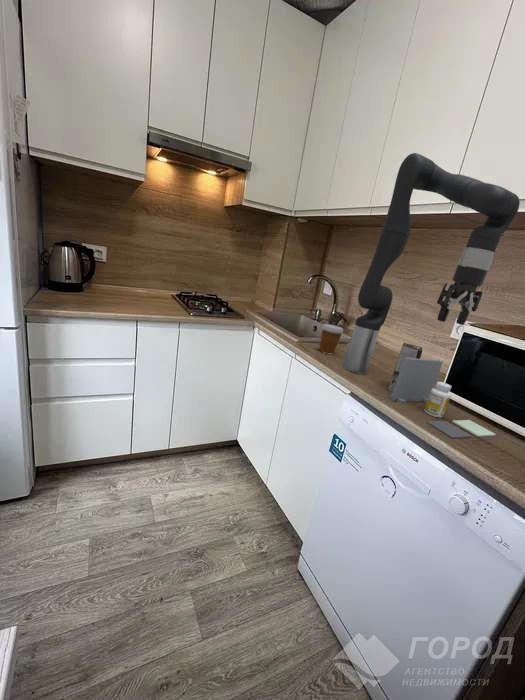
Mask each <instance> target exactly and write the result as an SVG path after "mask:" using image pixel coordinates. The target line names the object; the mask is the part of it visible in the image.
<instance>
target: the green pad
mask: <svg viewBox="0 0 525 700" xmlns="http://www.w3.org/2000/svg"><path fill="white" fill-rule="evenodd" d="M451 422H452V423H453V424H455V425H457V426H459V427H461V429H464V430H465V431H467V432H469V433H471V434H473V435H474V436H476V437H492V436H493V437H494V436H497V435H496V433H494V432H492V431H491V430H489V429H487V428H486V427H483V426H482V425H479V424H478V423H476V422H474V421H472V420H470V419H462V420H452V421H451Z"/></svg>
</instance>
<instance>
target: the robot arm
mask: <svg viewBox="0 0 525 700" xmlns="http://www.w3.org/2000/svg"><path fill="white" fill-rule="evenodd" d="M394 183H395V184H394V188H393V192H392V196H391V199H390V200H391V201H390V204H389V208H388V211H387V214H386V217H385V219H384V224H383V225H382V229H381V232H380V235H379V238H378V241H377V245H376V248H375V252H374V254H373V256H372V257H373V258H372V260H371V263H370V265H369V268H368V270H367V271H366V272H367V273H366V274H365V277H364V279H363V282H362V285H361V286H360V289H359V291H358V296H357V302H358V305H359V306H360V307H361V308H362V309H367V312H366V313H365V314H363V315H360V316H358V317H357V318H356V319H355V323H354V328H353V329H352V333H351V338H350V341H348V342H347V345H346V349H345V352H344V356H343V359H342V362H341V366H343V369H345V368H346V369H345V370H347V371H349V372H351V371H352V372H351V373H354V372H355V374H359V373H360V375H361V374H362V375H366V374H367V372H368V369H369V366H370V363H371V360H372V356H373V353H374V350H375V347H376V343H377V340H378V336H379V334H380V330H381V327H382V326H383V325H384V323H385V321H386V319H387V317H388V313H389V311H390V308H391V305H392V301H393V292H392V290H391V288H390V287H388V286H387V285H386V286H385V285H381V284H382V281H383V280H384V279H383V278H384V277H385V275H386V272H387V271H388V269H389V268H390V267H391V266H392V265H393V264H394V263H395V261H397V260H398V258H400V256H401V255H402V254H403V252H404V250H405V248H406V245H407V243H408V240H409V238H410V235H411V229H412V227H411V225H412V224H411V223H412V221H411V220H412V219H411V212H410V211H411V209H410V208H411V205H410V203H411V197H412V194H413V191H414V190H417V191H424V192H430V193H431V192H432V193H433V194H437V195H439V196H443V198H446V199H447V200H449V201H451V202H452V203H456V204H458V205H460V206H462V207H464V208H468V209H471V210H474V211H475V212H477V213H479V214H481V215H483V216H486V217H487V218H486V219H485V221H484V223H483V225H480V226H476V227H474V229H473V230H472V232H471V233H470V236H469V238H468V240H467V242H466V246H465V248H464V249H463V252H462V254H461V257H460V258H459V261H458V263H457V266H456V268H455V271H454V274H453V277H452V281H453V284H452V283H448V282H446V283H444V285H443V288H442V290H441V292H440V294H439V296H438V299H437V301H436V304H437V305H439V306H440V310H439V312H438V315H437V321H438V322H442V323H445V322H446V321H447V318H448V316H449V313H450V309H451V308H452V307H453V306H454V305H458V303H459V305H460V306H461V307H460V308H461V310H459V311H460V312H459V314H458V317H457V318H456V321H455V323H456V324H458V325H462V326H464V325H465V323H466V321H467V319H468V317H469V314H470V313H472V312H474V313H475V312H476V311H477V309H478V307H479V304H480V301H481V299H482V296H483V291H480V290H477V287H482V286H483V283H484V281H485V279H486V276H487V274H488V272H489V269H490V267H491V265H492V262H493V260H494V259H493V258H494V255H495V252H496V251H497V250H496V249H497V247H498V245H499V242H500V239H501V237H502V236H503V235H504V233H505V232H506V231H507V229H508V228H509V226H510V225H511V224H512V222H513V220H514V219H515V218H516V216H517V214H518V212H519V209H520V203H521V201H520V198H519V196H518V195H517V194H516V193H515V192H513V191H511V190H508V189H507V188H505V187H502V186H500V185H496V184H493V183H490V182H489V183H488V182H484V181H482V180H479V179H476V178H473V177H471V176H467V175H463V174H456V173H452V172H449V171H446V170H444V168H442V167H441V166H439V165H438V164H436V163H435V162H434V161H433V159H432V160H431V159H430V158H428V157H426V156H424V155H422V154H419V153H417V152H413V153H410V154H408V155H407V156H406V157H405V158H404V159H403V161H402V162H401V163H400V166H399V169H398V172H397V175H396V179H395V182H394Z"/></svg>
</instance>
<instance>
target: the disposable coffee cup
mask: <svg viewBox="0 0 525 700" xmlns="http://www.w3.org/2000/svg"><path fill="white" fill-rule="evenodd" d="M343 333H344V328H343V327H341V326H338V325H334V324H329V323H323V325H322V326H321V336H320V343H319V350H321V351H323V352H326V353H335V351H336V348H337V347H338V346H337V345H338V344H339V341H340V339H341V337H342V334H343Z"/></svg>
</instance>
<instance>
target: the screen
mask: <svg viewBox="0 0 525 700" xmlns="http://www.w3.org/2000/svg"><path fill="white" fill-rule="evenodd" d="M443 363H444V362H443V361H442V360H437V359H424V358H420V359H416V358H404V360H403V363H402V366H401V369H400V372H399V375H398V378H397V381H396V384H395V387H394V390H393V391H392V393H389V395H388V397H389V398H390V400H391V401H393V402H397V403H399V404H400V405H402V404H403V405H404V404H406V403H407V402H423V403H425V404H426V403H427V400H428V397H429V394H430V392H431V389H432V388H435V386H436V383H437V379H438V376H439V374H440V371H441V368H442V366H443Z"/></svg>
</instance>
